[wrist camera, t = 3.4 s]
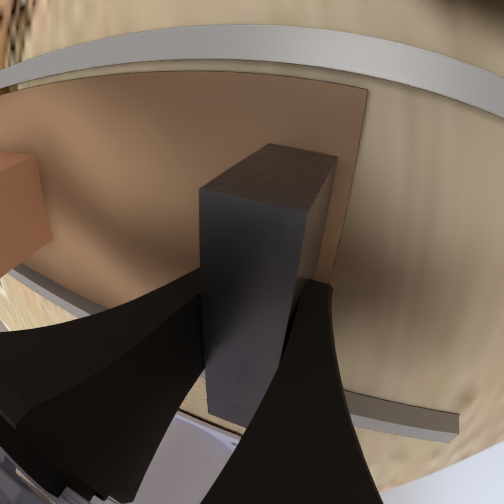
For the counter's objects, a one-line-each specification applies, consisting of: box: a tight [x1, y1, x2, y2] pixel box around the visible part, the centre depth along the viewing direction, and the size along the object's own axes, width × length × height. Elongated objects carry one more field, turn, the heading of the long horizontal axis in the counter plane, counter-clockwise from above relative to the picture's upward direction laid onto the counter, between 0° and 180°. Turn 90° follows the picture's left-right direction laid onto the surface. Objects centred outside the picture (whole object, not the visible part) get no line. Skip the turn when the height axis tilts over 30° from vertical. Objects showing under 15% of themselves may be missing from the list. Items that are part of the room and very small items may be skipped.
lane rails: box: [0, 24, 504, 443], centre depth 13 cm, size 15×36×1 cm, turn 86°
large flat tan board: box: [0, 71, 368, 428], centre depth 12 cm, size 12×24×4 cm, turn 86°
